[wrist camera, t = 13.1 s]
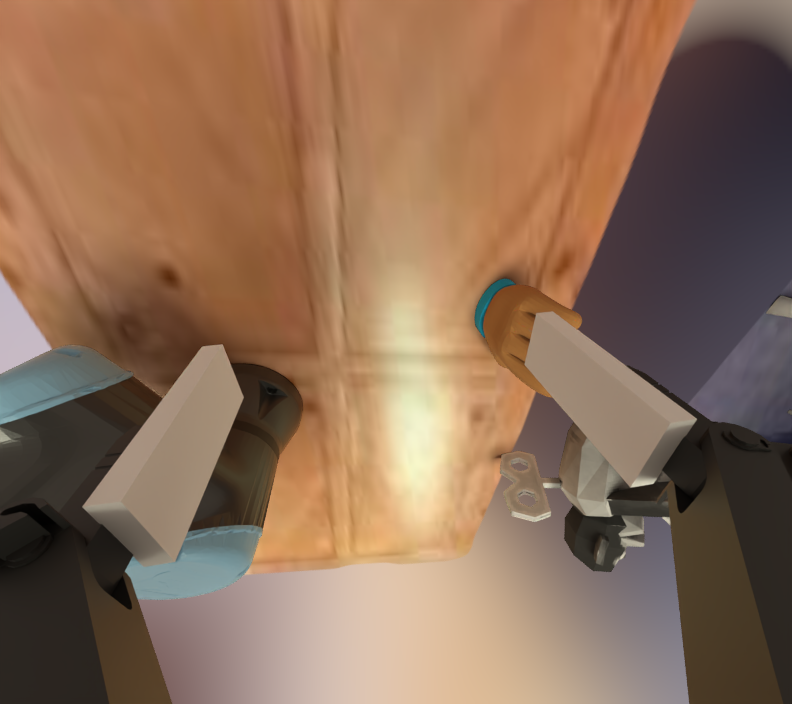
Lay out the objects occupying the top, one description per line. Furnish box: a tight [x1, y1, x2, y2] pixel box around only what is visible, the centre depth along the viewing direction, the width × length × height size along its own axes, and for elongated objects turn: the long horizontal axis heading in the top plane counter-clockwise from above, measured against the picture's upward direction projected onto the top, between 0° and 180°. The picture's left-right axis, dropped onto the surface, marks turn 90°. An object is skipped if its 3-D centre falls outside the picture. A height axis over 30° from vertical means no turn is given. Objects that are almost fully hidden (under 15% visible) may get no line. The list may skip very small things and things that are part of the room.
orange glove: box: [475, 279, 582, 397], centre depth 36 cm, size 12×7×15 cm, turn 164°
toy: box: [500, 422, 718, 572], centre depth 52 cm, size 21×31×30 cm
